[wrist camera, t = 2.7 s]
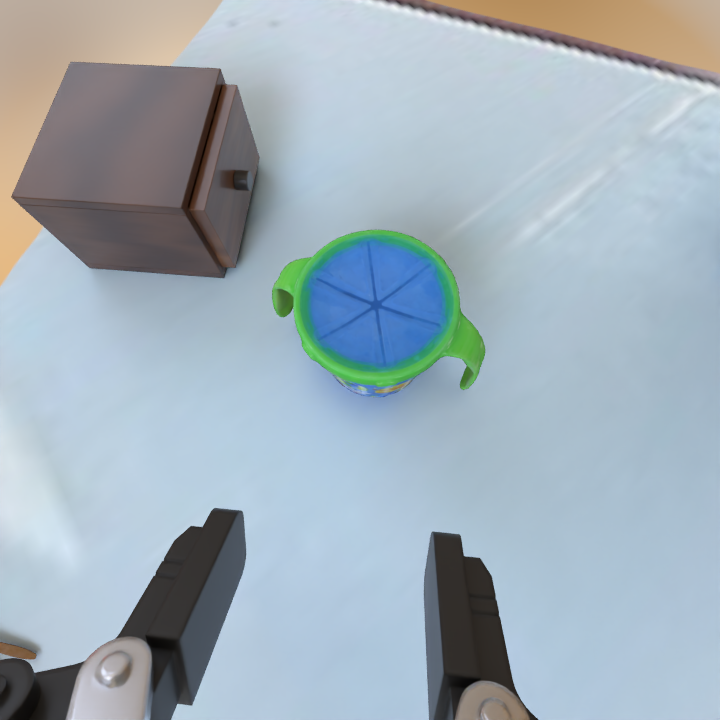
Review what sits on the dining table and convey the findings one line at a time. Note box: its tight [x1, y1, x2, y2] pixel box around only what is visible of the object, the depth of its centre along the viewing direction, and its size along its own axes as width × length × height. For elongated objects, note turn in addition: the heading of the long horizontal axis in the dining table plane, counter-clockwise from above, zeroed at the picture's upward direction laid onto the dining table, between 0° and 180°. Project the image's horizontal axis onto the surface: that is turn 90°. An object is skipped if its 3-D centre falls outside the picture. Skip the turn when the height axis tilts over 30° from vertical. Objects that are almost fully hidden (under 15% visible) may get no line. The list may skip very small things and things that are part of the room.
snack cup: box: [272, 230, 485, 397], centre depth 33 cm, size 16×10×10 cm
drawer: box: [188, 84, 260, 268], centre depth 39 cm, size 13×12×8 cm
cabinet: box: [11, 62, 226, 278], centre depth 39 cm, size 13×14×10 cm
